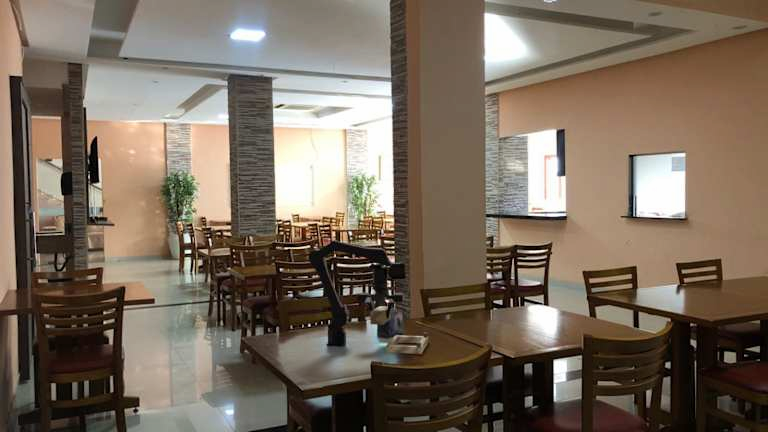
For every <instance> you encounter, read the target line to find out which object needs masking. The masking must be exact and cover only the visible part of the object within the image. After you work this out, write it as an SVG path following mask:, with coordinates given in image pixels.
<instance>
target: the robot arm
mask: <svg viewBox="0 0 768 432" xmlns="http://www.w3.org/2000/svg"><path fill="white" fill-rule="evenodd" d="M333 252H340V253H345V254H348V255H353V256H357V257H362V258H364V259H366V260H369V261H371V264H370V265H369V266H368V267H367V268H368V270H372V289H371V291H370V294H369V292H358V294H357V295H356V298H355V299H356V300H355V301H356V302H358V303H359V302H361V303H364V304H365V305H367V306H368V308H369V310H370V311H372V310H374V309H375V307H376V305H375V302H383V301H388V302H387V307H388V309H387V319H389V316H390V313H391V310H392V309H393V307H394V305H396V304H397V303H404V301H405V300H406V296H405V294H404V293H403V292H394V293H393V294H390V290H389V287H388V283H389V282H388V278H390V279H391V280H392V281H401V280H402V281H405V280H406V279H407V277H406V276H407V275H406V273H407V270H406V262H392V260H391V259H390V258H389V257H388V253H387V250H386V249H384V248H381V247H365V246H360V245H356V244H352V243H347V242H342V241H338V240H337V239H333V240H331V241H330V243H328V244H326V245H325V246H323V247H322V248H315V249H314V250H312V251H311V252H309V254H308V261H309V263H310V264H311V267H312V268H313V269H314V270H315V272H316V273H317V275H318V277H319V280H320V282H321V285H322V287H323V290H324V293H325V295H326V297H327V300H328V303H329V306H330V311H331V317H332V318H331V320H330V321H329V323H328V325H327V328H328V329H327V343H326V346H338V347H343V346H344V345H345V344H346V343H347V332H346V330H345V328H346V327H344V326H346V324H347V323H348V321H349V318H350V316H349V315H350V311H349V310H348V306H347V304H346V303H344V304H343V303H342V302H341V300H340V298H339V295H338V293H337V291H336V288H335V286H334V284H333V280H332V277H331V274H330V273H329V270H328V264H327V258H326V257H327V256H329V255H330V254H332V253H333ZM374 263H375V264H374ZM382 265H384V266H382Z"/></svg>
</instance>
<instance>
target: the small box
mask: <svg viewBox="0 0 768 432" xmlns="http://www.w3.org/2000/svg"><path fill="white" fill-rule="evenodd" d="M395 335H399V336H401V335H403V309H396V308H392V310H391V319H390V320H389V321H387V322H386V323H385V324H383V325H376V337H381V338H386V339H390V338H393V337H394V336H395Z"/></svg>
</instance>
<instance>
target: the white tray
mask: <svg viewBox="0 0 768 432" xmlns="http://www.w3.org/2000/svg"><path fill="white" fill-rule="evenodd" d="M428 333H429V332H426V331H425V332H423V335H395V336H393V337H392V338H391V340H389V342H387V344H386V346H385V353H386V354H390V353H392V354H395V353H396V354H414V355H423V352H424V350H425V349H426V348H427V346H428V344H429V336H428ZM400 343H403V344H405V343H406V344H407V343H408V344H416V345H401V344H400ZM398 344H400V345H398Z"/></svg>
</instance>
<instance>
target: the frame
mask: <svg viewBox="0 0 768 432" xmlns="http://www.w3.org/2000/svg"><path fill="white" fill-rule="evenodd" d="M387 309H388V305H387V306H386V305H384V306H383V305H382V306H381V305H379V306H377V307H376V308H375V309H374V310H372V311H370V314H369V315H370V320H369V322H370V325H376V326H377V325H383V324H385V323H386V322H387V321H389V320H390V319H391V313H390V316H389V319H387Z"/></svg>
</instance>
